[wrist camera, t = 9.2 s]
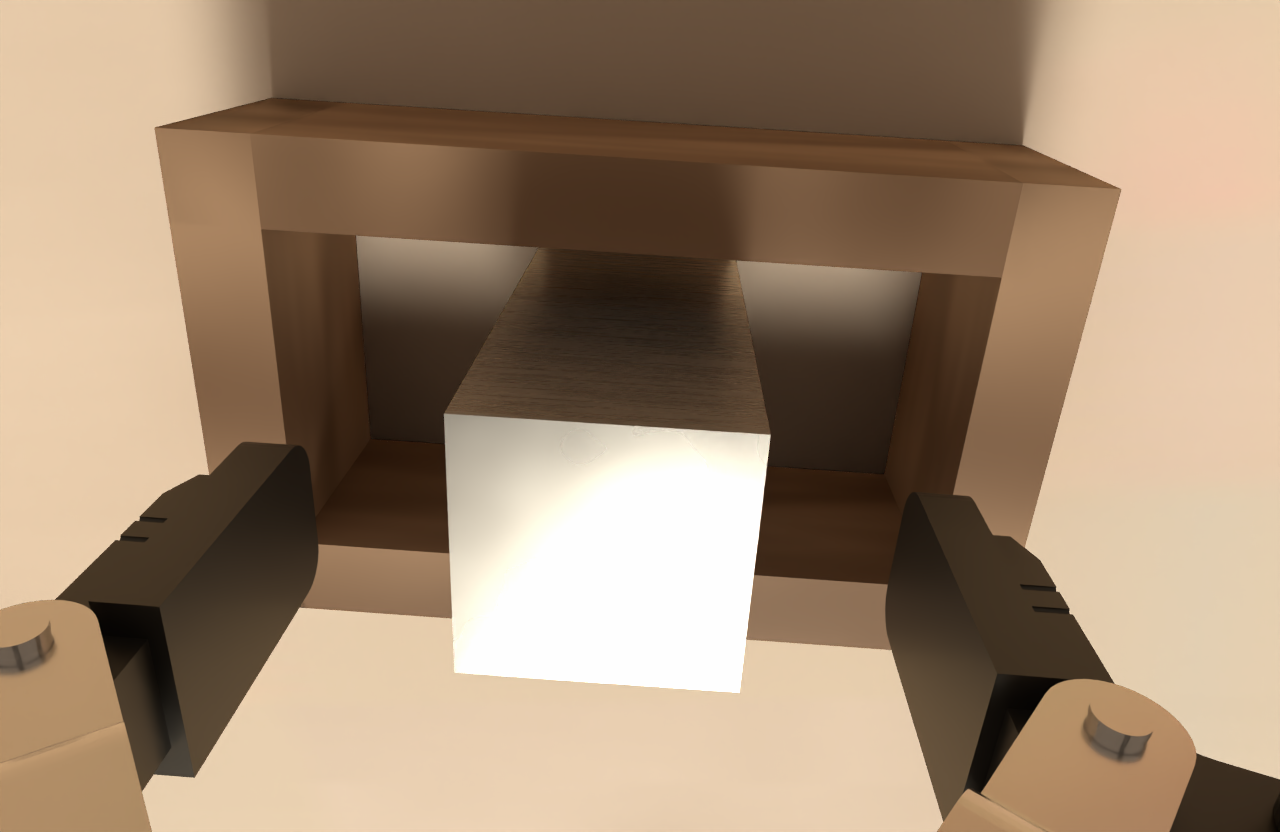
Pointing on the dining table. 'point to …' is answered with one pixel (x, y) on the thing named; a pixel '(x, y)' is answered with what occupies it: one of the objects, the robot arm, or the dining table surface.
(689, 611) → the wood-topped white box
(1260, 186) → the dining table surface
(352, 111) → the rectangular wooden frame
